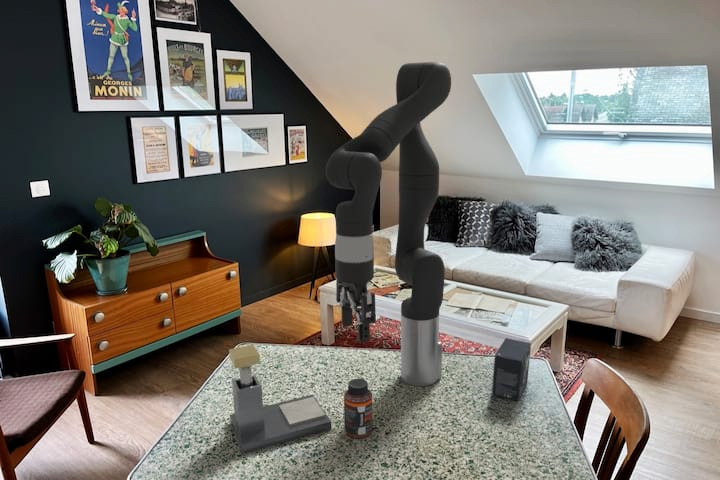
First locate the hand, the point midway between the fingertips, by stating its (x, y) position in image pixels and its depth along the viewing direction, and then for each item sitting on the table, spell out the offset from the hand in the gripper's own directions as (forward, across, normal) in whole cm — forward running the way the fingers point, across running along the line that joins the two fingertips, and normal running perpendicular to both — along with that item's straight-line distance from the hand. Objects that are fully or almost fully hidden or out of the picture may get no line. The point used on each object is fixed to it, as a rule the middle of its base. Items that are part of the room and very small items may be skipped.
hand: (355, 332), depth 111 cm
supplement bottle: (+23, 0, 0) cm, 23 cm away
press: (+23, +9, +14) cm, 28 cm away
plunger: (+16, +8, +21) cm, 27 cm away
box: (+22, 0, -40) cm, 46 cm away
